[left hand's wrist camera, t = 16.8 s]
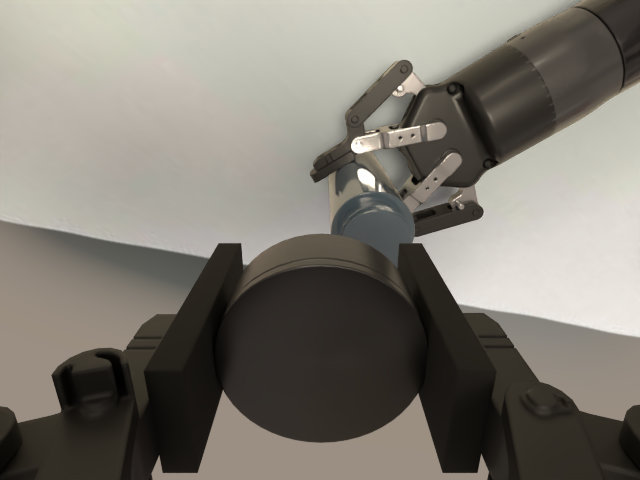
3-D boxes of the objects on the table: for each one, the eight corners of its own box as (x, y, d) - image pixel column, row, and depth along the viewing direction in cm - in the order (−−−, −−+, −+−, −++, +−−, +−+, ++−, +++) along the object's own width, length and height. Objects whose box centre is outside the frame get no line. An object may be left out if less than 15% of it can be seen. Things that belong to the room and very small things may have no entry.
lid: (191, 318, 12) (169, 362, 10) (321, 192, 11) (321, 217, 9) (321, 418, 14) (321, 473, 12) (450, 318, 12) (473, 362, 10)
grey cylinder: (376, 141, 39) (417, 193, 22) (383, 192, 40) (425, 276, 23) (324, 151, 39) (324, 208, 22) (332, 201, 41) (339, 290, 24)
